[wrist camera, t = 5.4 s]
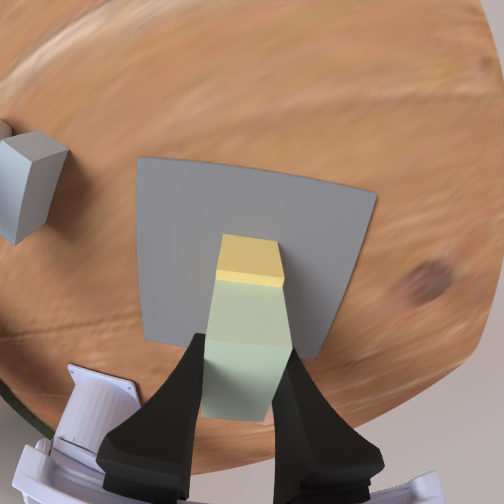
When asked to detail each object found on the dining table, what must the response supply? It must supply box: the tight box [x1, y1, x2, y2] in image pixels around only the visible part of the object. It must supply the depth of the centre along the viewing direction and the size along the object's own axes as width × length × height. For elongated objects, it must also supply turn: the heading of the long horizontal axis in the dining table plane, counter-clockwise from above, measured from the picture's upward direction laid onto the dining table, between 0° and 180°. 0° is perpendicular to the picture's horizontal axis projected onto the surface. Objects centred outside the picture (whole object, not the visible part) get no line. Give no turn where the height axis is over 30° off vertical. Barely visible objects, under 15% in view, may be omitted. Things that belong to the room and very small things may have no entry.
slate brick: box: [0, 130, 69, 246], centre depth 13 cm, size 6×3×4 cm, turn 145°
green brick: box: [201, 279, 292, 422], centre depth 13 cm, size 6×3×4 cm, turn 171°
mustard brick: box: [215, 234, 285, 287], centre depth 16 cm, size 6×3×4 cm, turn 171°
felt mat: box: [136, 157, 377, 359], centre depth 18 cm, size 14×14×1 cm
